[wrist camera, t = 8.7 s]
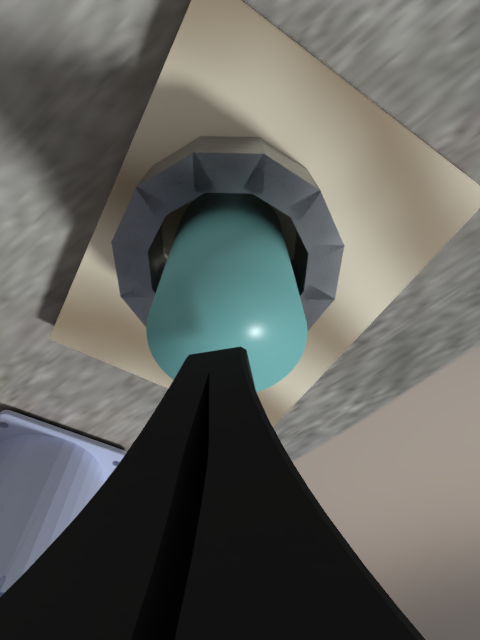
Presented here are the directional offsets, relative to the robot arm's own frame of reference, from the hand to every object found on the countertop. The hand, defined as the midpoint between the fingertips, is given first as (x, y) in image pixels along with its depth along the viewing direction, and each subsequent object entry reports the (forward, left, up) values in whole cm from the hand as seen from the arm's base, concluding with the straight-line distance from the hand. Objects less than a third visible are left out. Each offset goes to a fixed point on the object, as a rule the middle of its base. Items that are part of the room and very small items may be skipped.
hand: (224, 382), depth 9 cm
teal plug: (0, 0, -9) cm, 9 cm away
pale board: (-1, -2, -10) cm, 10 cm away
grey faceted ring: (0, 0, -9) cm, 9 cm away
